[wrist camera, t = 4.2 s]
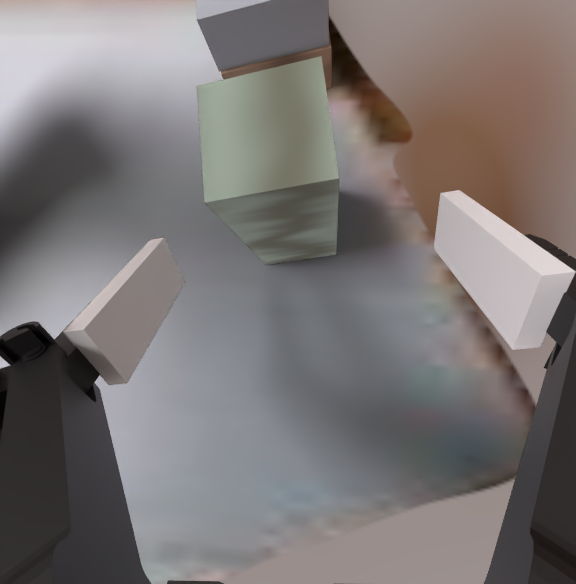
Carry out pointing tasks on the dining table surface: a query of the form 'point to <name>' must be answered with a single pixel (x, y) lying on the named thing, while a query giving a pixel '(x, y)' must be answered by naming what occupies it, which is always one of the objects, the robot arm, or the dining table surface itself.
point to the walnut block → (284, 60)
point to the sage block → (272, 160)
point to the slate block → (261, 29)
